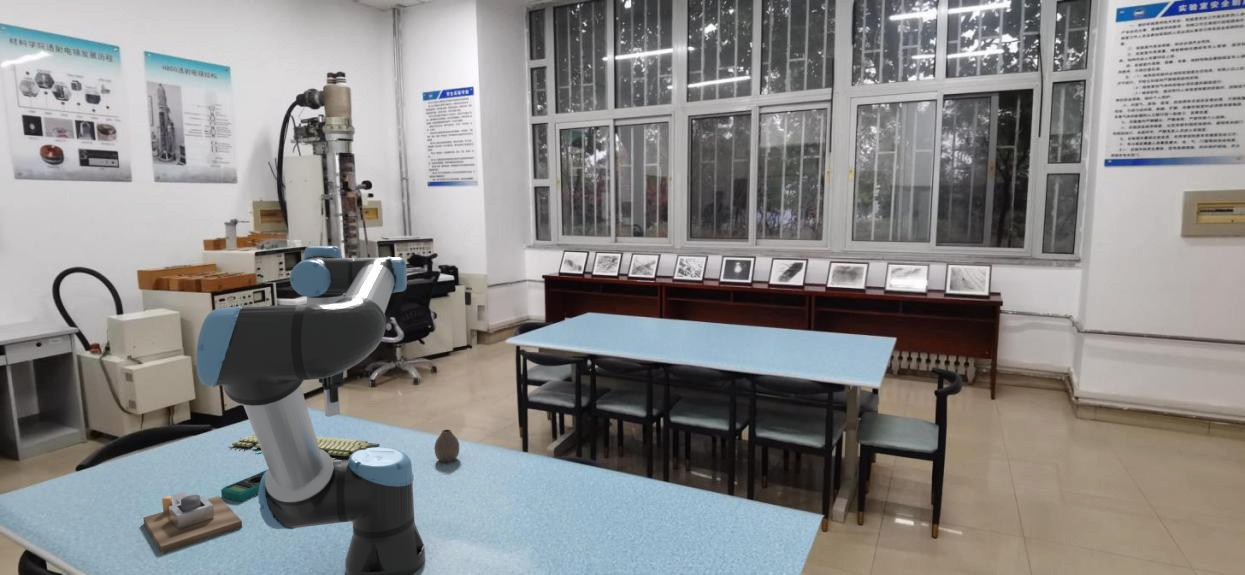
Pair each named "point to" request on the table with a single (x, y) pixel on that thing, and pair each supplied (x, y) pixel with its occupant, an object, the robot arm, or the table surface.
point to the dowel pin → (166, 504)
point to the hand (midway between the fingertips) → (332, 414)
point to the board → (174, 537)
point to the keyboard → (329, 445)
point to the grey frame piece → (190, 512)
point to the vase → (446, 446)
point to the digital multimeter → (243, 488)
